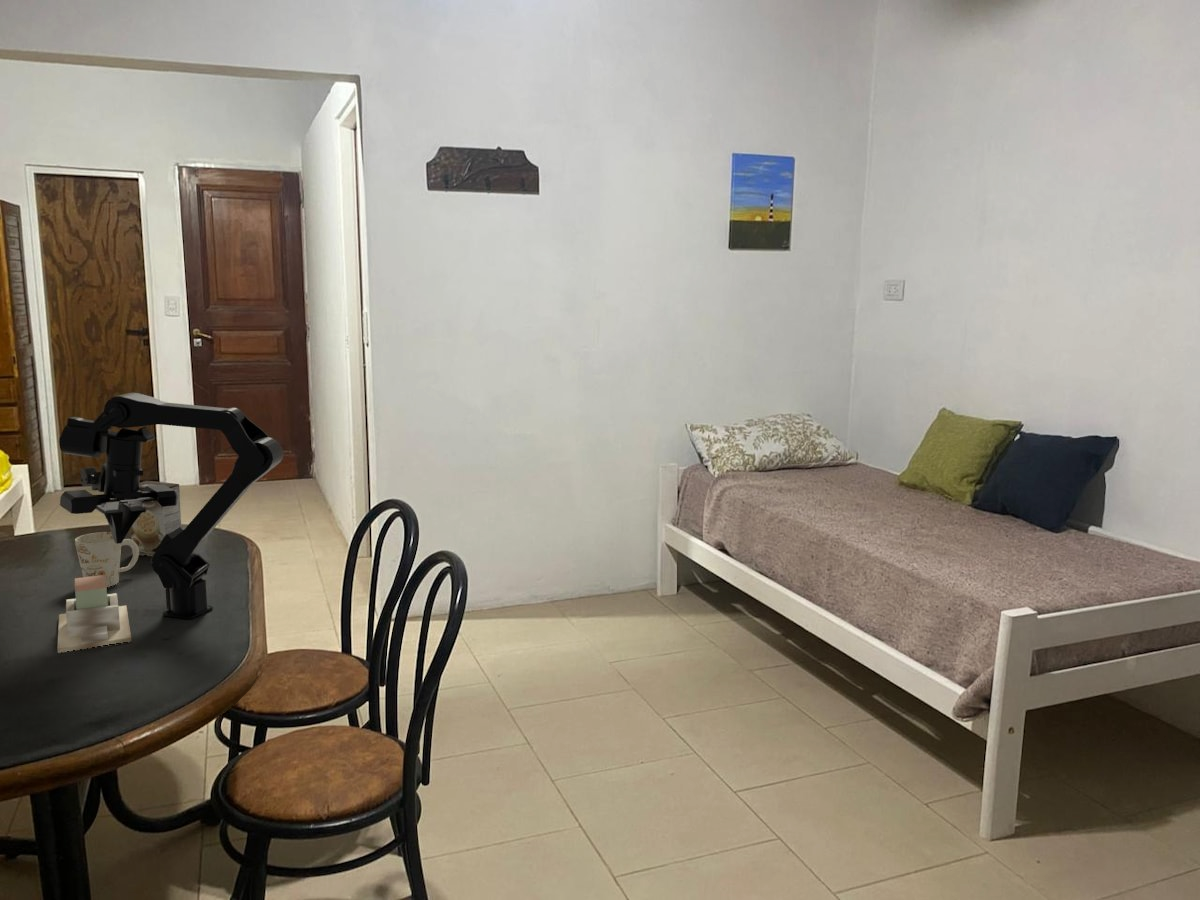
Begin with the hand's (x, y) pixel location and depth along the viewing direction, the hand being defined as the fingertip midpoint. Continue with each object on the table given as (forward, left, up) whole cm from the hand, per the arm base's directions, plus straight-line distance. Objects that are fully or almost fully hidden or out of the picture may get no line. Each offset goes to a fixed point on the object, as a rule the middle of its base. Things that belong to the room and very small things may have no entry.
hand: (117, 542), depth 170 cm
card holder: (-2, +9, -13) cm, 16 cm away
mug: (+15, -13, -14) cm, 25 cm away
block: (-2, +9, -12) cm, 15 cm away
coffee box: (+21, -33, -14) cm, 42 cm away
